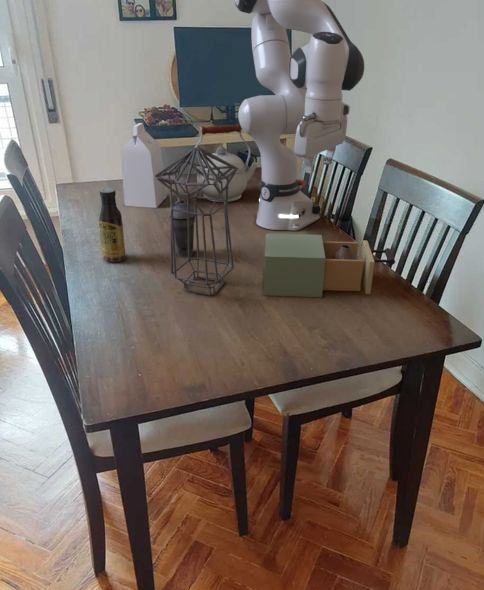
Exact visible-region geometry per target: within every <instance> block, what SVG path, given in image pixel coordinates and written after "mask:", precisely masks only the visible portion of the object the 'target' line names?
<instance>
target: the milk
mask: <svg viewBox="0 0 484 590" xmlns="http://www.w3.org/2000/svg"><path fill="white" fill-rule="evenodd" d="M120 159H121V172H122V173H121V174H122V187H123V188H122V189H123V201H124V207H135V208H136V207H137V208H150V209H151V208H152V209H157V208H158V207H159V206H160V205H161V204H162V203H163V202H164V201H165V200H166V198H167V189H166V186H165V185H163V184H162V183H161V182H160V181H158V180H157V179H156V178H155V175H156V174H157V173H159V172H160V171H162V170H163V169H164V165H163V157H162V149H161V145H160V143H158V141H157V140H156V139H154V138H153V136H152V135H151V134H150V133H148V131H146V128H145V125H144V123H143V122H138V123H137V124H135V125H133V126H132V137H131V138H130V139H129V140H128V141H127V142H126V143H125V144H124V146H123V147H122V149H121V151H120ZM161 177H162V178H165V175H164V176H161ZM163 182H164V181H163Z"/></svg>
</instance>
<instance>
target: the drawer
mask: <svg viewBox="0 0 484 590" xmlns="http://www.w3.org/2000/svg"><path fill="white" fill-rule="evenodd" d="M342 245H350V246H351V249H352V251H353V252H354V254H355V255H356V257H357V256H358V250H359V242H358V241H333V240H332V241H330V240H327V241H325V240H323V246H324V252H325V269H324V281H323V291H346V292H347V291H348V292H349V291H350V292H360V291H361V284H362V286H363V290H364V294H365V295H370V294H371V290H372V283H373V276H374V271H375V270H374V269H375V263H384V264H387V263H388V265H391V266H394V265H395V263H396V259H395V257H394V254H393V252H392V250H391V248H389V247H386V248H385V249H371V247H370V244H369V241H368V240H364V239H363V240H362V245H361V253H360V259H357V260H346V259H332V258H333V256H334V254H335V253H336V252H337V251H338V250H339V249H340V248H341V246H342ZM373 253H374V254H384V255H385V257H386V259H382V258H381V259H380V258H379V259H378V258H377V259H376V258H374V256H373ZM357 258H358V257H357Z"/></svg>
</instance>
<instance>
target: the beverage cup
mask: <svg viewBox="0 0 484 590" xmlns="http://www.w3.org/2000/svg"><path fill="white" fill-rule="evenodd" d="M177 190H178V191H179V189H178V187H177ZM180 199H181V198H180V196H178V198H177V200H176V203H177V202H179V201H181V200H180ZM176 203H175V204H176ZM173 209H175V210H181V211H187V200H184V201H182V202H180V203H179V204H177V205H176V206H174V207H173ZM189 210H190V212H194V213H195V208H194V207H193V206H192V204H191V203H190V202H189ZM169 220H170V221H171V216H170V214H169ZM173 221H174V239H175V251H176V254H177V256H178V257H182V258H188V218H187V213H183V212H177V211H173ZM195 222H196V221H195V214H190V257H191V256H193V254H194V234H195V233H194V232H195Z"/></svg>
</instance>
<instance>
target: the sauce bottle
mask: <svg viewBox="0 0 484 590" xmlns="http://www.w3.org/2000/svg"><path fill="white" fill-rule="evenodd" d="M116 195H117V193H116V189H115V188H112V187H103V188H100V189H99V196H100V202H101V209H100V213H99V219H98V227H99V234H100V243H101V244H100V245H101V251H102V255H103V260H104V261H105V262H108V263H119V262H121V261H123V260H125V258H126V246H125V245H126V243H125V235H124V234H125V233H124V225H123V217H122V213H121V210H119V208H118V206H117V200H116Z"/></svg>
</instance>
